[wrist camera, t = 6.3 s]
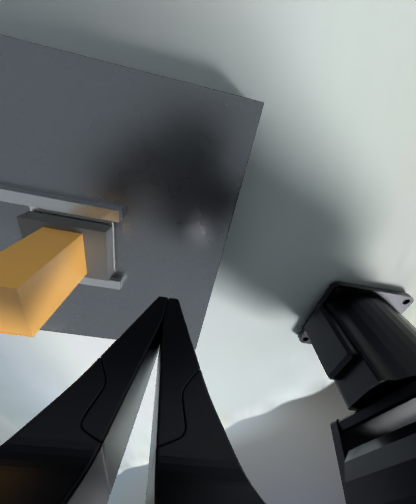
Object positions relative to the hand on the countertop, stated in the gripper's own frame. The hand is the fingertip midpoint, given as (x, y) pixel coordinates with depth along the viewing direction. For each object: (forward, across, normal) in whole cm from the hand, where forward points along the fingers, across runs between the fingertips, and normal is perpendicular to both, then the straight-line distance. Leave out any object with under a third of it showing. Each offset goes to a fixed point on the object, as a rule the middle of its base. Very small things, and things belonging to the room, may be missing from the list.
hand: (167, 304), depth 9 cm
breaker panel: (+6, +8, 0) cm, 9 cm away
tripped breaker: (+3, +6, 0) cm, 7 cm away
